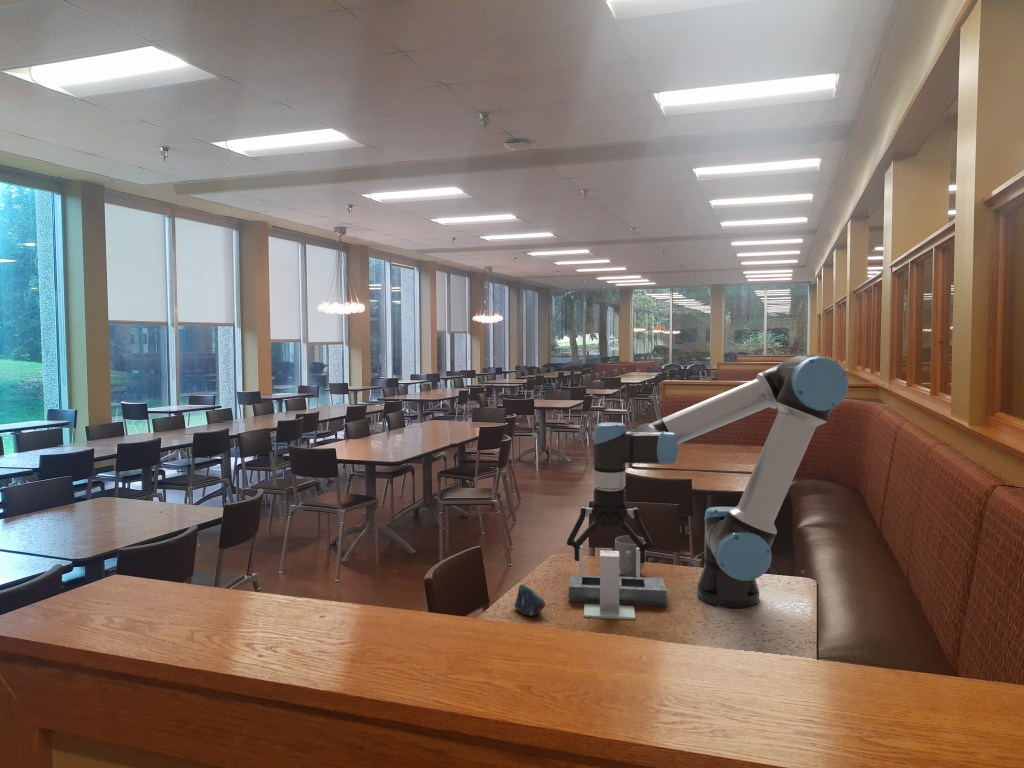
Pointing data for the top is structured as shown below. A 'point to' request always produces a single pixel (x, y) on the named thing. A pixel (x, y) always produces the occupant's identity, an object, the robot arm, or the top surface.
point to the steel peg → (609, 582)
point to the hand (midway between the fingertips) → (609, 575)
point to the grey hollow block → (629, 590)
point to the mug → (627, 555)
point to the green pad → (624, 613)
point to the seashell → (528, 601)
